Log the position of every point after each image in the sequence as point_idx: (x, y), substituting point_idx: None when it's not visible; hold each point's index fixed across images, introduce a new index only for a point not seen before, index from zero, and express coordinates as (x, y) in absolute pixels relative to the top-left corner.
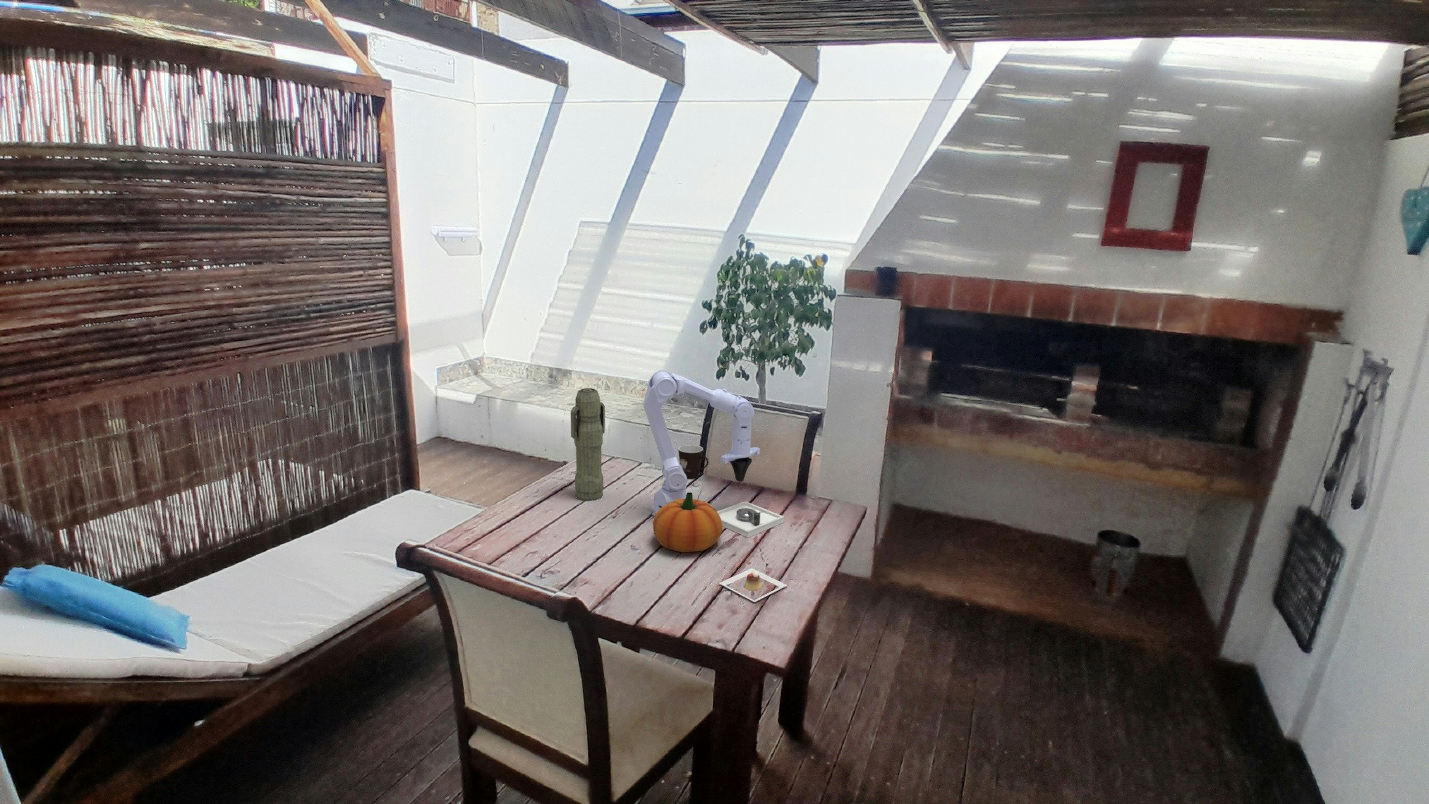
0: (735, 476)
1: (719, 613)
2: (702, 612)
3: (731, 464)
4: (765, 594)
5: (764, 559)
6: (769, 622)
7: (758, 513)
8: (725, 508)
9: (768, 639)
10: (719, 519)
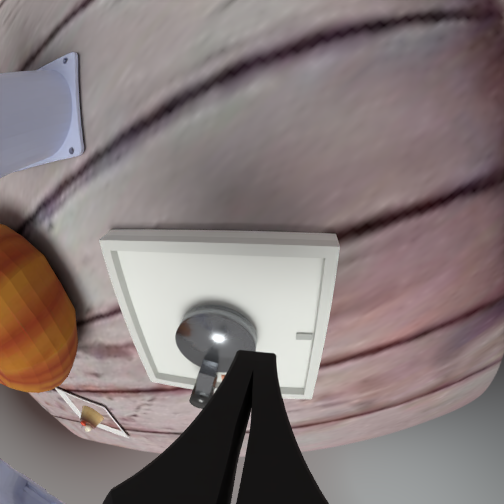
0: (226, 375)
1: (48, 399)
2: None
3: (149, 466)
4: (100, 424)
5: (139, 410)
6: None
7: (204, 405)
8: (190, 243)
9: (79, 431)
10: (49, 389)
